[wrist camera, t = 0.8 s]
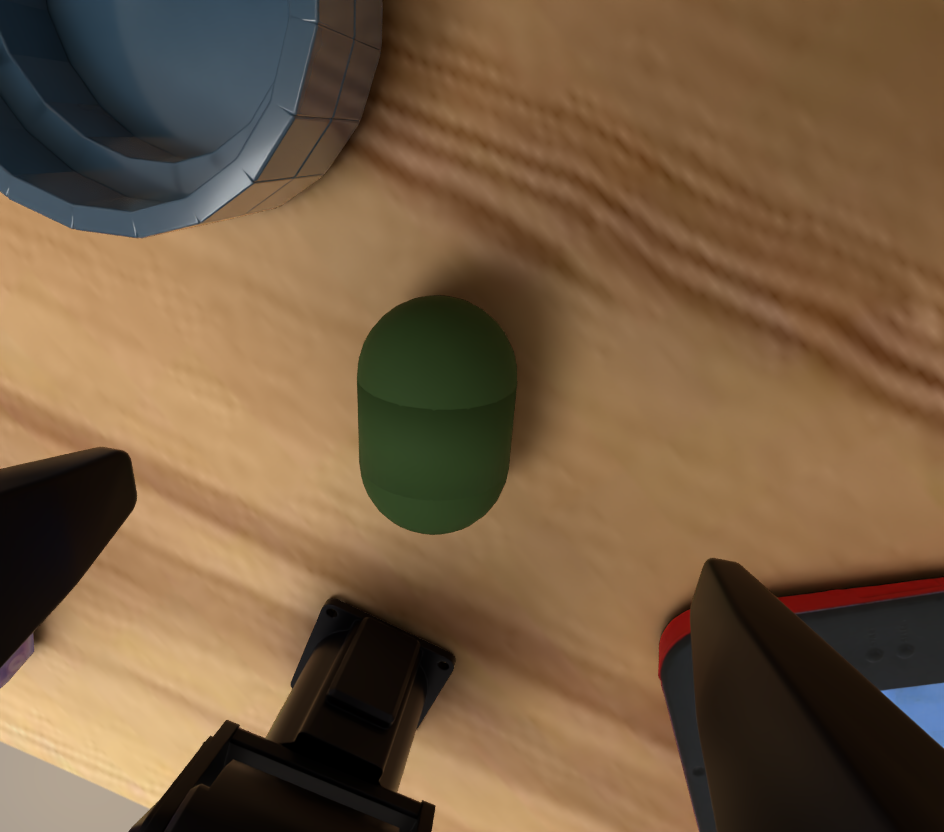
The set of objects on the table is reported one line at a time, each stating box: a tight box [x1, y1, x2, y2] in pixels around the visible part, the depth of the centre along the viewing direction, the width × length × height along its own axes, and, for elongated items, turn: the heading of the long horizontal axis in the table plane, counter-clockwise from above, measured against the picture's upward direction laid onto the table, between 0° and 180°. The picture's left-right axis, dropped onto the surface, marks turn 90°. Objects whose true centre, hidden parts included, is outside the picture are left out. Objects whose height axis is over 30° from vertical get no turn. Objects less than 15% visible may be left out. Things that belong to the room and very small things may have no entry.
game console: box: [658, 577, 944, 832], centre depth 24 cm, size 14×13×2 cm
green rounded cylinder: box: [357, 295, 517, 535], centre depth 19 cm, size 8×5×5 cm, turn 176°
